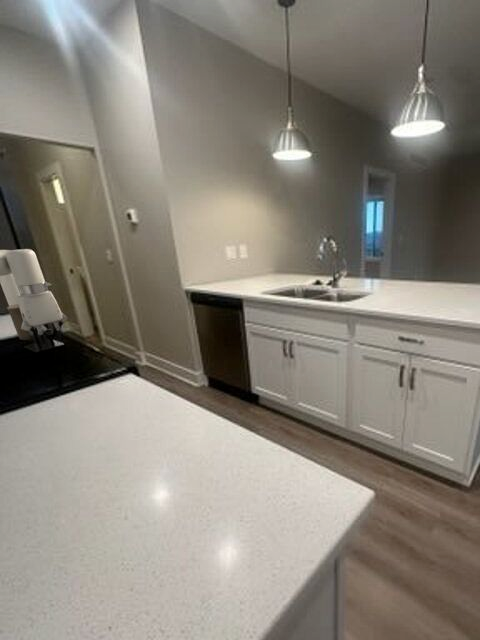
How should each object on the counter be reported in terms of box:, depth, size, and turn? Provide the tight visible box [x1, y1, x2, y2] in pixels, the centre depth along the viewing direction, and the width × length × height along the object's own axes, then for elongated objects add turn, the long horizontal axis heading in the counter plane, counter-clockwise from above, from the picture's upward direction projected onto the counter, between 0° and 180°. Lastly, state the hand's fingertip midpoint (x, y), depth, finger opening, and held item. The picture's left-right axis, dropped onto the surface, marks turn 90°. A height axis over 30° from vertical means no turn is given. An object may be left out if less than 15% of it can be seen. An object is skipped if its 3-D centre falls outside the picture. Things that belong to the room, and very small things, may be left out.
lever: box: [41, 325, 55, 339], centre depth 119 cm, size 13×3×3 cm, turn 54°
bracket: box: [24, 323, 65, 353], centre depth 122 cm, size 12×9×12 cm
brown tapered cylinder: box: [6, 304, 43, 341], centre depth 134 cm, size 10×10×15 cm
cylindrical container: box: [0, 274, 20, 307], centre depth 140 cm, size 7×7×25 cm
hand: (52, 342), depth 118 cm, fingers closed on lever, 3 cm apart
